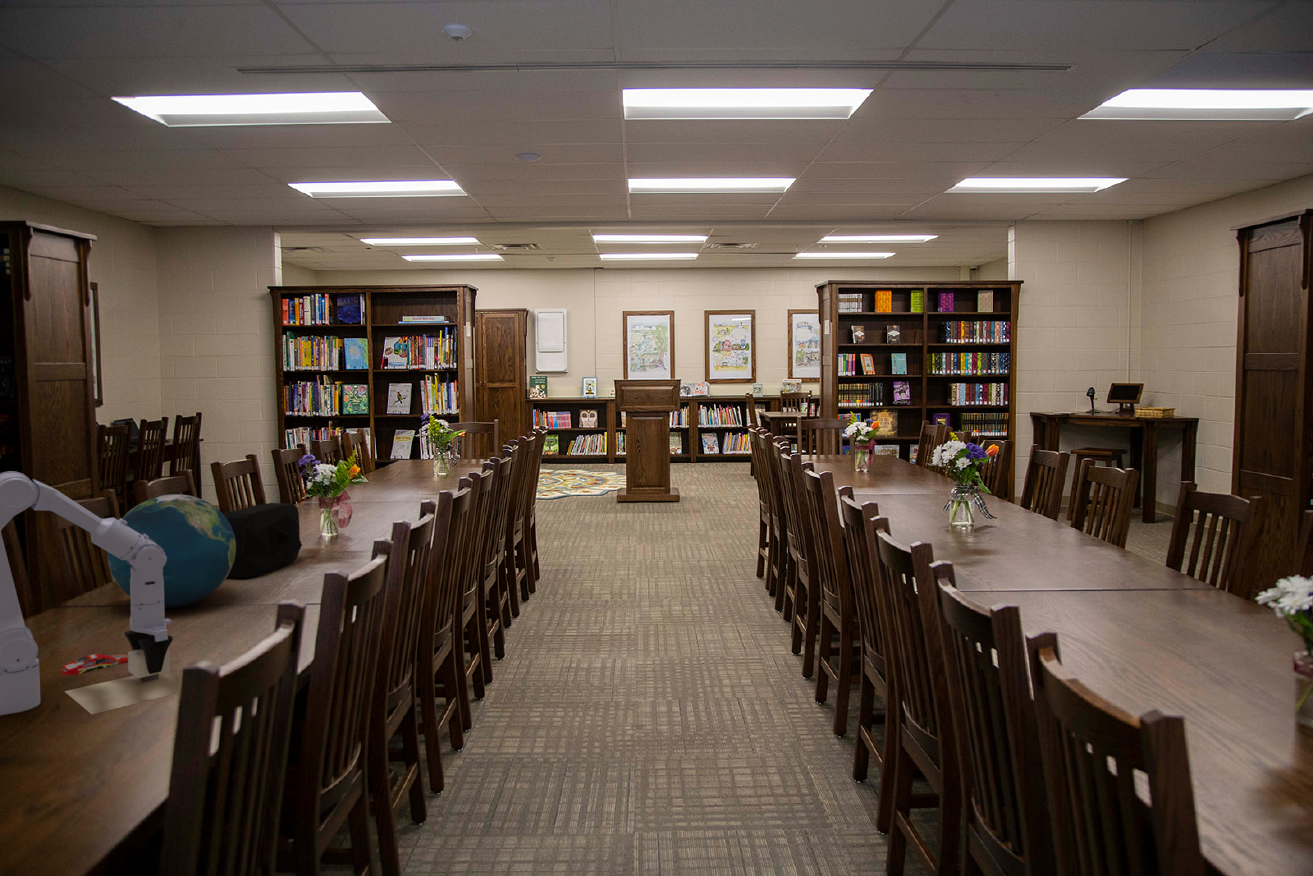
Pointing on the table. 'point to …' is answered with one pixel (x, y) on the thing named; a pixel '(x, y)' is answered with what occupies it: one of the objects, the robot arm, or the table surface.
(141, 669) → the toy microwave
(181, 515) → the globe
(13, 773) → the table surface
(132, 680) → the switch board
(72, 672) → the race car
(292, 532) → the black hard case
